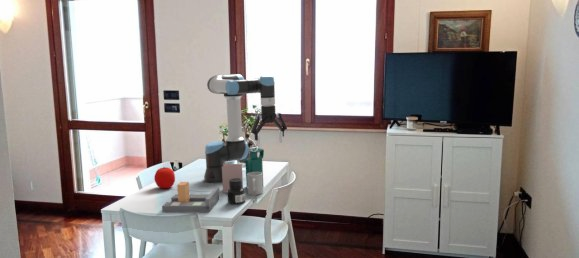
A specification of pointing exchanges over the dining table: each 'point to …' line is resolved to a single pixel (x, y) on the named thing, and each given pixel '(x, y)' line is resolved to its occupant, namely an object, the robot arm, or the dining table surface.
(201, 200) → the breaker housing
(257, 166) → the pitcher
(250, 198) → the dining table surface
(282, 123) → the robot arm
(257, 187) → the mug
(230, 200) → the ink bottle
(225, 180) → the greeting card
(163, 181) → the tomato
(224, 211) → the dining table surface
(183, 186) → the lever
